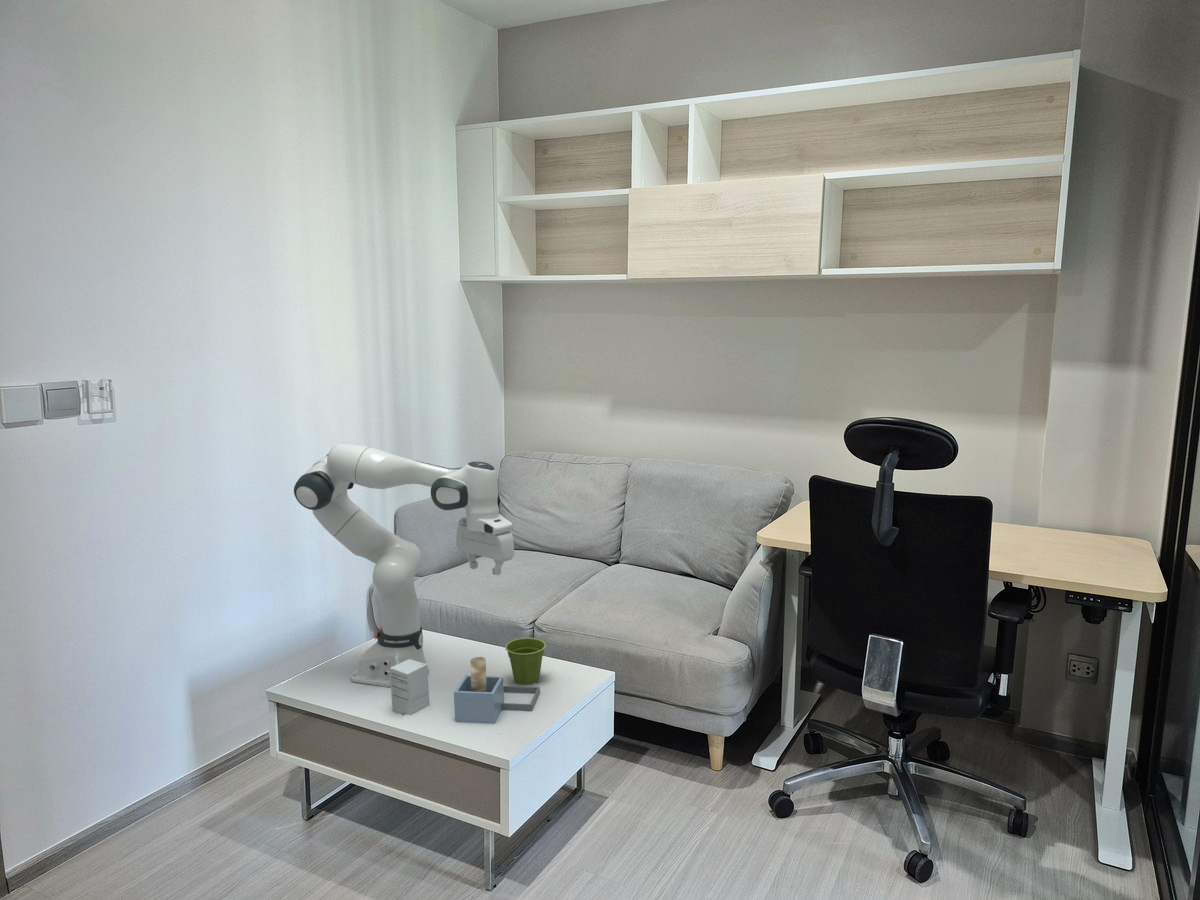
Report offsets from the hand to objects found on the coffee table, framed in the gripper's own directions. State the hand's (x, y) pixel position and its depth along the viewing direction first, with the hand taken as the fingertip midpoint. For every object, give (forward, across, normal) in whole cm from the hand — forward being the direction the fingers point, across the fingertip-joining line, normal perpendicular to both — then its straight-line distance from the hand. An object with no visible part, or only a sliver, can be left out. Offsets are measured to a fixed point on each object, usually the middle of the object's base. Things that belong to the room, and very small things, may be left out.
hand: (485, 571), depth 228 cm
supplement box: (+37, -12, -18) cm, 43 cm away
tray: (+37, +7, +3) cm, 38 cm away
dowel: (+36, +5, -8) cm, 38 cm away
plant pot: (+37, -1, +15) cm, 40 cm away
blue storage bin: (+37, +5, -8) cm, 38 cm away
